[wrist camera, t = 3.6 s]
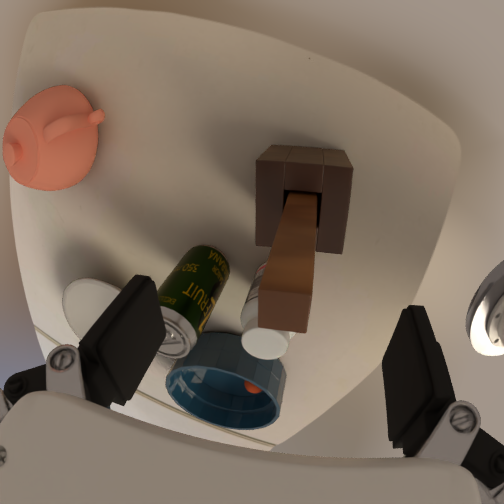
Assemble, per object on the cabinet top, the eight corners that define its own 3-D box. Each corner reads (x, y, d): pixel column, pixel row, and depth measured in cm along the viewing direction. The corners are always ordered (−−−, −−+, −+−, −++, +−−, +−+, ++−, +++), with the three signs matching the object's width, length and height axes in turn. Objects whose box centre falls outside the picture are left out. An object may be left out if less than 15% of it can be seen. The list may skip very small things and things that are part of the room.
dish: (113, 237, 35) (90, 256, 30) (188, 318, 38) (174, 344, 34) (68, 290, 43) (50, 308, 38) (126, 350, 46) (113, 370, 42)
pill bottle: (296, 304, 34) (285, 371, 25) (251, 291, 34) (228, 355, 26) (310, 265, 31) (304, 331, 22) (260, 252, 31) (237, 313, 23)
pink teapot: (35, 106, 27) (-25, 123, 19) (109, 60, 24) (37, 62, 15) (57, 189, 33) (1, 221, 24) (133, 164, 29) (69, 197, 20)
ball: (267, 370, 40) (263, 387, 37) (266, 382, 41) (263, 398, 39) (246, 367, 40) (241, 383, 38) (247, 379, 42) (242, 395, 39)
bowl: (291, 338, 36) (284, 379, 31) (282, 403, 44) (275, 436, 39) (173, 320, 39) (153, 353, 34) (190, 386, 47) (177, 416, 42)
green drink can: (203, 288, 35) (161, 363, 25) (177, 252, 34) (123, 321, 23) (240, 274, 33) (205, 355, 23) (214, 234, 31) (164, 306, 21)
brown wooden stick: (317, 172, 26) (312, 295, 11) (316, 193, 27) (306, 334, 12) (295, 170, 26) (258, 288, 11) (294, 191, 27) (257, 327, 12)
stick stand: (344, 150, 24) (353, 168, 18) (337, 218, 28) (342, 254, 22) (270, 144, 26) (255, 159, 20) (269, 212, 29) (255, 245, 23)
